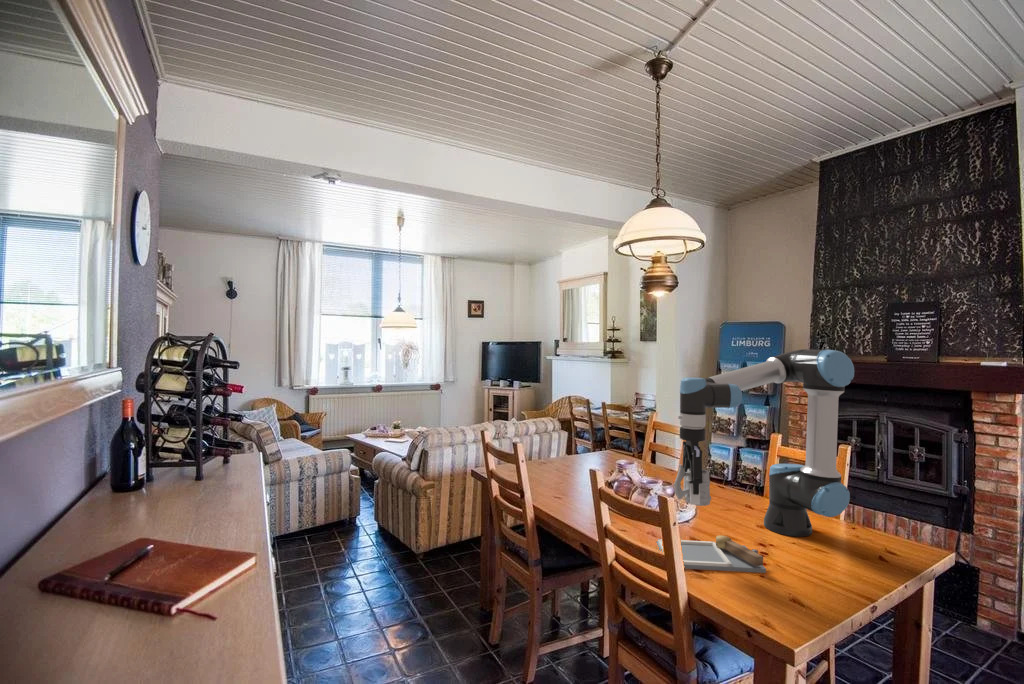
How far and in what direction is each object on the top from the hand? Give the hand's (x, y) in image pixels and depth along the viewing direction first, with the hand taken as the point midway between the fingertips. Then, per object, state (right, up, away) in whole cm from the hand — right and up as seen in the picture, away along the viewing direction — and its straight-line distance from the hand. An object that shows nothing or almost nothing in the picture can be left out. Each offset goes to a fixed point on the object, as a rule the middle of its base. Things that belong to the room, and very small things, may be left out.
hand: (691, 499), depth 151 cm
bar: (+13, -15, -4) cm, 20 cm away
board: (+4, -18, -2) cm, 18 cm away
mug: (0, -1, -1) cm, 1 cm away
